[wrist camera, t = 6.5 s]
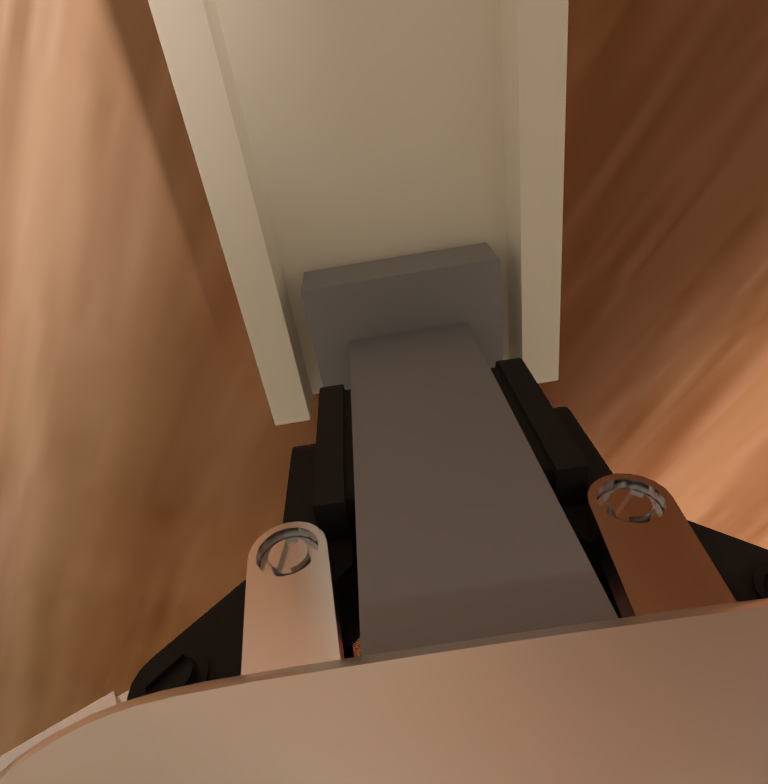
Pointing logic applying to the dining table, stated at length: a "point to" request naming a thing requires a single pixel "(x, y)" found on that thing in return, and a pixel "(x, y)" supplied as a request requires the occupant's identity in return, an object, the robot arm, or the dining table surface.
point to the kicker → (442, 458)
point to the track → (374, 153)
